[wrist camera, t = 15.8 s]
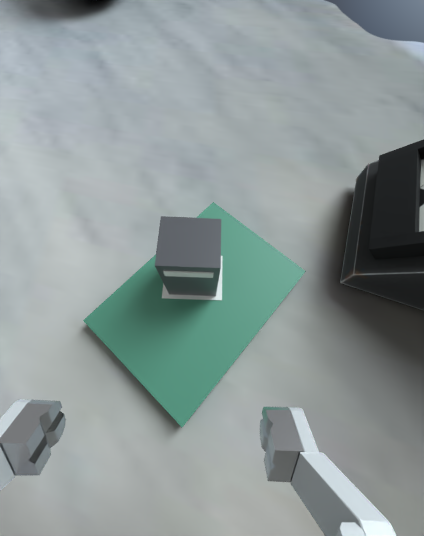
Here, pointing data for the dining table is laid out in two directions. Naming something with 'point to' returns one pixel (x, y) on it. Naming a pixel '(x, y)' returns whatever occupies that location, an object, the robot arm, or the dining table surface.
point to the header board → (194, 318)
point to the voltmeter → (389, 228)
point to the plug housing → (189, 255)
